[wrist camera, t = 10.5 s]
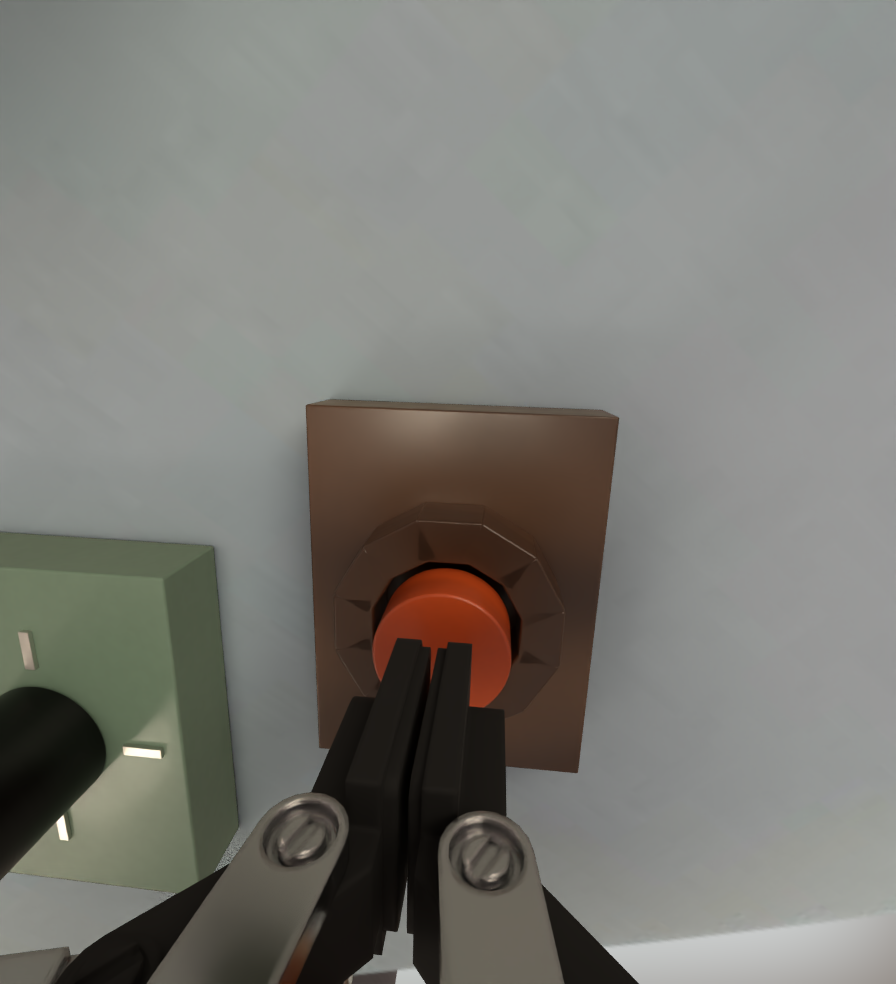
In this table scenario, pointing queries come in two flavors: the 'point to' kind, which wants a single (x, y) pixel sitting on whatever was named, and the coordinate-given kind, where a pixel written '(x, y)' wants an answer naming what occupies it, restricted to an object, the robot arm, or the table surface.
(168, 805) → the dial panel
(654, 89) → the table surface
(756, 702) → the table surface
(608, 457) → the switch block
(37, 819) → the dial
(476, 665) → the button
